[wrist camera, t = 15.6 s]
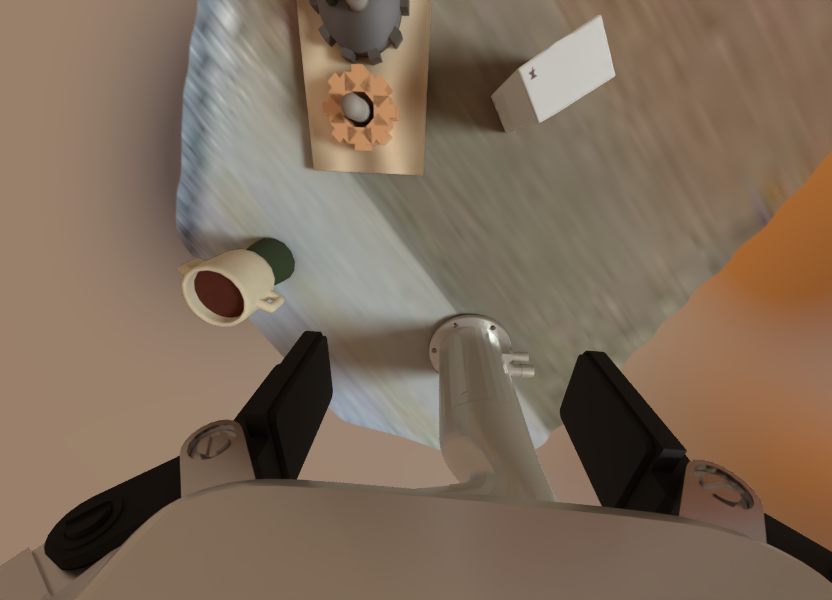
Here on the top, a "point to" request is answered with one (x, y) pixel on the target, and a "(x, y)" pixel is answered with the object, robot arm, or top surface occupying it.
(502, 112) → the skincare box
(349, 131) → the loose gear
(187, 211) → the top surface
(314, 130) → the gear board
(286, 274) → the character mug
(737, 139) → the top surface
